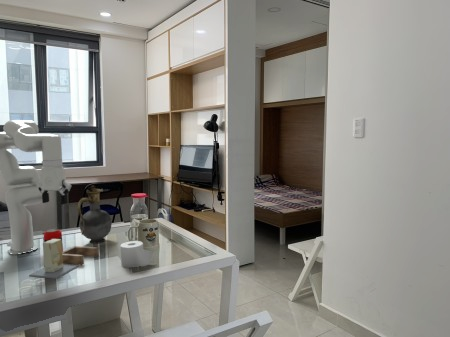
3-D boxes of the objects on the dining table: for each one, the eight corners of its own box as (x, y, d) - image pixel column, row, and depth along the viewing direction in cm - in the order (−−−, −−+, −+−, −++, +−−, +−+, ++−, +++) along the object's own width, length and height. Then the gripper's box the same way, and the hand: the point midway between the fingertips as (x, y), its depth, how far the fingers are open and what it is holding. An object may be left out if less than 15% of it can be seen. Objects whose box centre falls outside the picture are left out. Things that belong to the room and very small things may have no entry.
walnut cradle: (57, 263, 155) (56, 254, 154) (75, 254, 166) (74, 246, 166) (81, 265, 151) (81, 256, 151) (98, 255, 163) (98, 247, 162)
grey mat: (29, 276, 141) (29, 274, 141) (53, 264, 153) (52, 263, 153) (56, 278, 137) (56, 277, 137) (78, 266, 150) (78, 265, 150)
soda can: (66, 254, 166) (64, 229, 165) (49, 259, 160) (47, 233, 159) (59, 251, 171) (57, 227, 170) (42, 255, 166) (40, 230, 164)
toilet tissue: (153, 265, 149) (152, 245, 148) (120, 268, 146) (119, 248, 145) (152, 257, 158) (151, 239, 157) (121, 261, 155) (120, 242, 154)
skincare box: (53, 272, 142) (51, 243, 141) (44, 272, 143) (41, 242, 142) (64, 267, 148) (61, 238, 147) (55, 266, 149) (53, 238, 148)
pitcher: (115, 238, 191) (112, 183, 188) (89, 249, 173) (85, 188, 170) (99, 236, 195) (96, 183, 192) (72, 247, 177) (68, 188, 175)
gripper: (29, 164, 149) (32, 203, 151) (62, 165, 144) (65, 206, 146) (43, 162, 157) (45, 200, 159) (75, 163, 152) (77, 202, 154)
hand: (54, 203), depth 153 cm, fingers open, 9 cm apart
